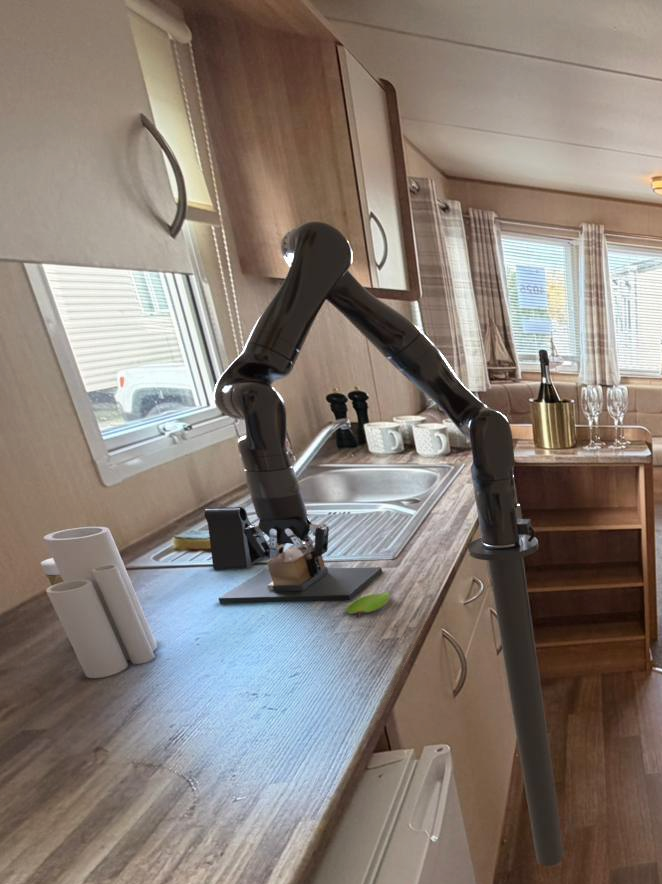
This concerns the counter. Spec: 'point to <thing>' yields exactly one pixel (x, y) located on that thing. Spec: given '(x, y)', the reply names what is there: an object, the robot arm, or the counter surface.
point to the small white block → (270, 586)
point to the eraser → (292, 571)
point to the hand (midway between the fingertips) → (300, 575)
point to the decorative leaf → (368, 603)
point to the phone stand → (230, 538)
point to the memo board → (327, 588)
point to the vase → (98, 602)
